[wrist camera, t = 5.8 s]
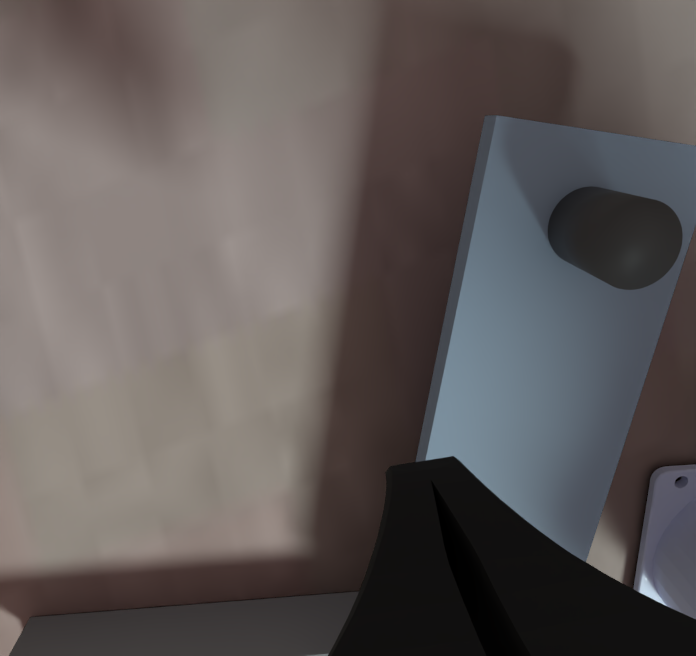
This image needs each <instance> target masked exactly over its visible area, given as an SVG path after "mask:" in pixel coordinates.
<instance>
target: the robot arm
mask: <svg viewBox="0 0 696 656" xmlns="http://www.w3.org/2000/svg"><path fill="white" fill-rule="evenodd" d="M385 473H386V480H387V487H386V498H385V505H384V511H383V516H382V520H381V524H380V529H379V533H378V537H377V541H376V544H375V547H374V551H373V554H372V557H371V560H370V563H369V566H368V569H367V572H366V575H365V578H364V580H363V583H362V586H361V588H360V591H359V593H358V595H357V598H356V600H355V602H354V605H353V607H352V609H351V611H350V614H349V616H348V618H347V620H346V622H345V624H344V626H343V628H342V630H341V632H340V634H339V636H338V638H337V640H336V641H335V643H334V645H333V647H332V649H331V651H330V653H329V654H328V656H696V464H693V465H678V466H665V467H661V468H659V469H657V470H655V471H654V473H653V474H652V476H651V478H650V484H649V491H648V497H647V504H646V510H645V517H644V523H643V530H642V536H641V542H640V549H639V555H638V562H637V568H636V575H635V581H634V588H633V589H632V588H630V587H628V586H626V585H624V584H622V583H620V582H619V581H617V580H615V579H613V578H611V577H609V576H608V575H606V574H604V573H602V572H601V571H599V570H598V569H596V568H594V567H593V566H591V565H589V564H588V563H586V562H584V561H583V560H581V559H580V558H578V557H576V556H575V555H573V554H571V553H570V552H568V551H567V550H565V549H564V548H563V547H561V546H560V545H558V544H557V543H555V542H554V541H553V540H551V539H550V538H549V537H547V536H546V535H545V534H543V533H542V532H540V531H539V530H538V529H536V528H535V527H534V526H533V525H531V524H530V523H529V522H527V521H526V520H525V519H524V518H522V517H521V516H520V515H519V514H518V513H516V512H515V511H514V510H513V509H512V508H510V507H509V506H508V505H507V504H506V503H504V502H503V501H502V500H501V499H500V498H499V497H497V496H496V495H495V494H494V493H493V492H492V491H491V490H490V489H489V488H487V487H486V486H485V485H484V484H483V483H482V482H481V481H480V480H479V479H478V478H477V477H476V476H475V475H474V474H473V473H472V472H471V471H469V470H468V469H467V468H466V467H465V466H464V465H463V464H462V463H461V461H459V460H458V459H457V458H455V457H454V456H450V457H444V458H438V459H432V460H426V461H420V462H413V463H407V464H401V465H395V466H390V467H389V469H388V470H387V471H386V472H385ZM681 476H682V477H681ZM678 477H681V479H680V480H679V481H677V482H675V480H676V479H677V478H678Z"/></svg>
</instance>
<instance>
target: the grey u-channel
mask: <svg viewBox="0 0 696 656" xmlns="http://www.w3.org/2000/svg"><path fill="white" fill-rule="evenodd" d="M358 593H359V591H358V592H345V593H332V594H320V595H307V596H294V597H282V598H269V599H256V600H244V601H231V602H218V603H205V604H193V605H180V606H167V607H155V608H142V609H129V610H117V611H104V612H91V613H78V614H66V615H53V616H40V617H30V619H29V620H28V622H27V624H26V626H25V627H24V629H23V631H22V633H21V635H20V636H19V638H18V640H17V642H16V644H15V645H14V647H13V649H12V651H11V653H10V654H9V656H328V654H329V653H330V651H331V649H332V647H333V645H334V643H335V641H336V640H337V638H338V636H339V634H340V632H341V630H342V628H343V626H344V624H345V622H346V620H347V618H348V616H349V614H350V611H351V609H352V607H353V605H354V602H355V600H356V598H357V595H358Z"/></svg>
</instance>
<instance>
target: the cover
mask: <svg viewBox="0 0 696 656" xmlns="http://www.w3.org/2000/svg"><path fill="white" fill-rule="evenodd" d="M695 226H696V146H694V145H687V144H681V143H674V142H668V141H661V140H655V139H648V138H642V137H635V136H629V135H622V134H616V133H609V132H603V131H596V130H590V129H583V128H577V127H570V126H564V125H557V124H551V123H544V122H538V121H531V120H525V119H518V118H512V117H505V116H499V115H490V116H485V118H484V123H483V128H482V133H481V138H480V143H479V148H478V153H477V158H476V163H475V168H474V173H473V178H472V183H471V188H470V193H469V198H468V203H467V208H466V213H465V218H464V223H463V228H462V232H461V237H460V242H459V247H458V252H457V257H456V262H455V267H454V272H453V277H452V282H451V287H450V292H449V297H448V302H447V307H446V312H445V317H444V322H443V327H442V332H441V337H440V342H439V347H438V352H437V357H436V362H435V367H434V372H433V377H432V382H431V387H430V392H429V397H428V402H427V407H426V412H425V417H424V422H423V427H422V432H421V437H420V442H419V447H418V452H417V457H416V461H415V462H420V461H426V460H432V459H438V458H444V457H450V456H454V457H455V458H457V459H458V460H459V461H461V463H462V464H463V465H464V466H465V467H466V468H467V469H468V470H469V471H471V472H472V473H473V474H474V475H475V476H476V477H477V478H478V479H479V480H480V481H481V482H482V483H483V484H484V485H485V486H486V487H487V488H489V489H490V490H491V491H492V492H493V493H494V494H495V495H496V496H497V497H499V498H500V499H501V500H502V501H503V502H504V503H506V504H507V505H508V506H509V507H510V508H512V509H513V510H514V511H515V512H516V513H518V514H519V515H520V516H521V517H522V518H524V519H525V520H526V521H527V522H529V523H530V524H531V525H533V526H534V527H535V528H536V529H538V530H539V531H540V532H542V533H543V534H545V535H546V536H547V537H549V538H550V539H551V540H553V541H554V542H555V543H557V544H558V545H560V546H561V547H563V548H564V549H565V550H567V551H568V552H570V553H571V554H573V555H575V556H576V557H578V558H580V559H581V560H583V561H584V562H586V560H587V557H588V553H589V550H590V547H591V544H592V541H593V538H594V535H595V532H596V529H597V526H598V523H599V520H600V517H601V514H602V511H603V507H604V504H605V501H606V498H607V495H608V492H609V489H610V486H611V483H612V480H613V477H614V474H615V471H616V468H617V465H618V462H619V458H620V455H621V452H622V449H623V446H624V443H625V440H626V437H627V434H628V431H629V428H630V425H631V422H632V419H633V416H634V412H635V409H636V406H637V403H638V400H639V397H640V394H641V391H642V388H643V385H644V382H645V379H646V376H647V373H648V370H649V367H650V363H651V360H652V357H653V354H654V351H655V348H656V345H657V342H658V339H659V336H660V333H661V330H662V327H663V324H664V321H665V317H666V314H667V311H668V308H669V305H670V302H671V299H672V296H673V293H674V290H675V287H676V284H677V281H678V278H679V275H680V271H681V268H682V265H683V262H684V259H685V256H686V253H687V250H688V247H689V244H690V241H691V238H692V235H693V232H694V229H695Z"/></svg>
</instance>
